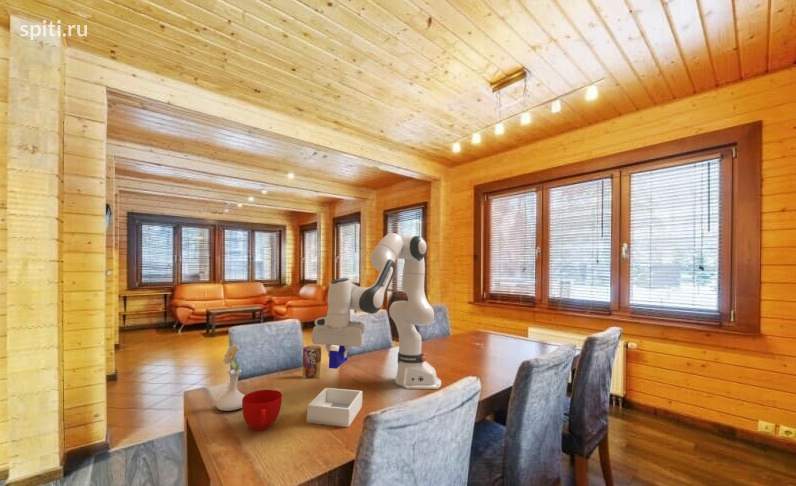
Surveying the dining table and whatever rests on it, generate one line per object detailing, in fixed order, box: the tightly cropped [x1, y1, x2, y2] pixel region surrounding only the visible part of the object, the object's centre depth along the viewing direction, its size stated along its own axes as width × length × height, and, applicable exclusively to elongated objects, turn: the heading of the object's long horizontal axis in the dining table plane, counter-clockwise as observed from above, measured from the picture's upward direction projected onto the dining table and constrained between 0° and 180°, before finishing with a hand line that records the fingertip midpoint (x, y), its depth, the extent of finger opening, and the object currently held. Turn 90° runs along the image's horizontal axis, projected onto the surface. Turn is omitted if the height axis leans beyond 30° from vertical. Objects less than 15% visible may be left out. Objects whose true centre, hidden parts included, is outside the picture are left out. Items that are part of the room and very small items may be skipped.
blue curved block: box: [328, 346, 349, 370], centre depth 129 cm, size 12×4×6 cm, turn 170°
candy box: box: [301, 344, 323, 379], centre depth 168 cm, size 9×4×15 cm, turn 99°
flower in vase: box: [216, 343, 246, 412], centre depth 131 cm, size 13×11×25 cm
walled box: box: [306, 387, 363, 428], centre depth 127 cm, size 16×18×6 cm
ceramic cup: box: [241, 389, 283, 431], centre depth 115 cm, size 13×17×10 cm
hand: (337, 356), depth 129 cm, fingers closed on blue curved block, 4 cm apart
